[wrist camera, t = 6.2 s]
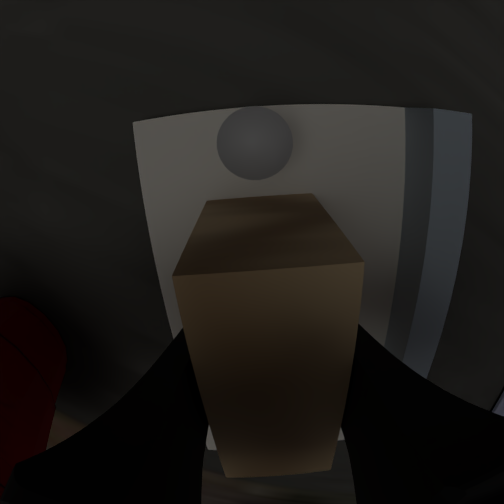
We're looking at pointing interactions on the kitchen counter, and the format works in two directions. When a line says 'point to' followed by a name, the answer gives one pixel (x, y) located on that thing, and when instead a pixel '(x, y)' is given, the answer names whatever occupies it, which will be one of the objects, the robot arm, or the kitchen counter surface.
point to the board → (327, 198)
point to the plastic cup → (26, 382)
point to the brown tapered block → (270, 329)
